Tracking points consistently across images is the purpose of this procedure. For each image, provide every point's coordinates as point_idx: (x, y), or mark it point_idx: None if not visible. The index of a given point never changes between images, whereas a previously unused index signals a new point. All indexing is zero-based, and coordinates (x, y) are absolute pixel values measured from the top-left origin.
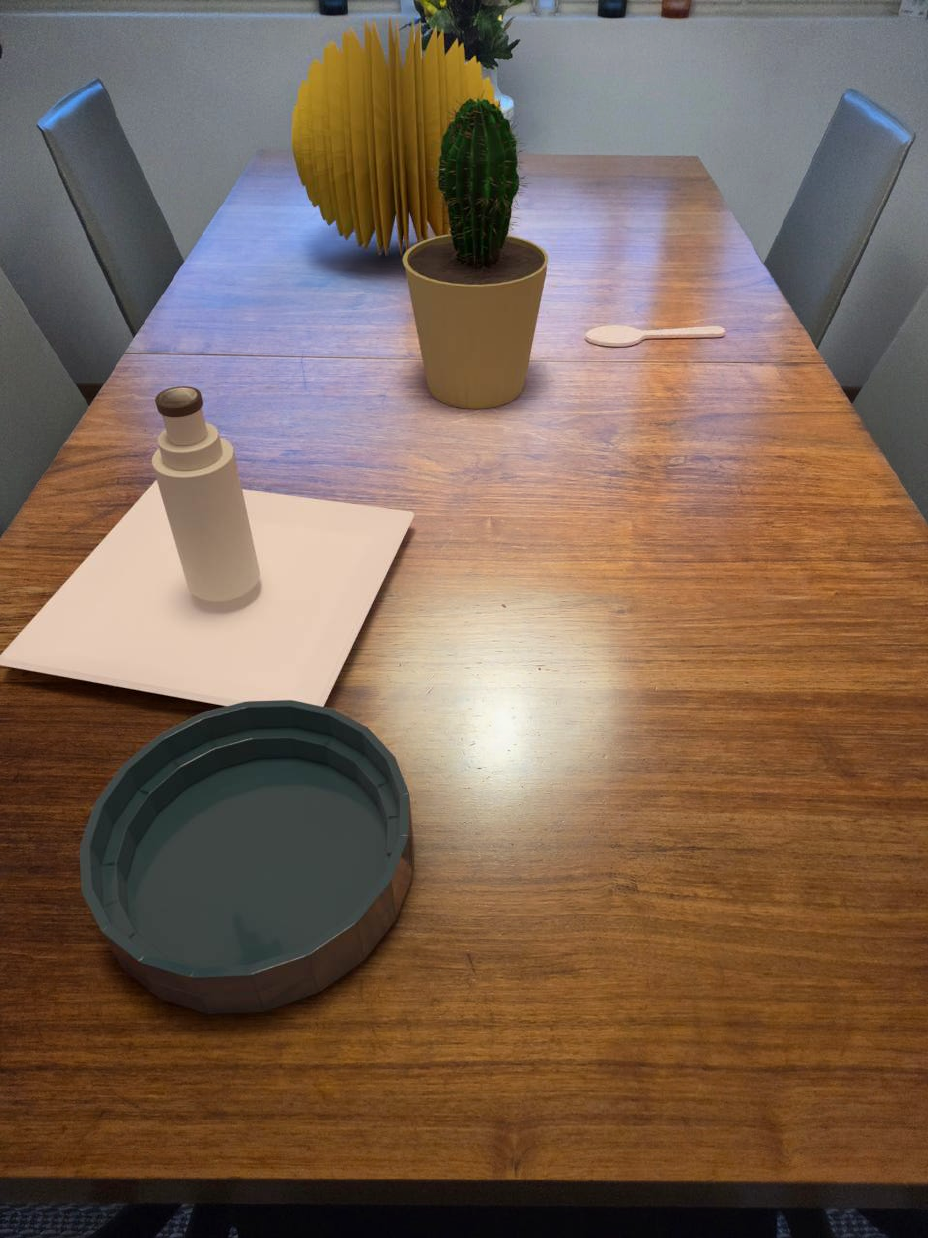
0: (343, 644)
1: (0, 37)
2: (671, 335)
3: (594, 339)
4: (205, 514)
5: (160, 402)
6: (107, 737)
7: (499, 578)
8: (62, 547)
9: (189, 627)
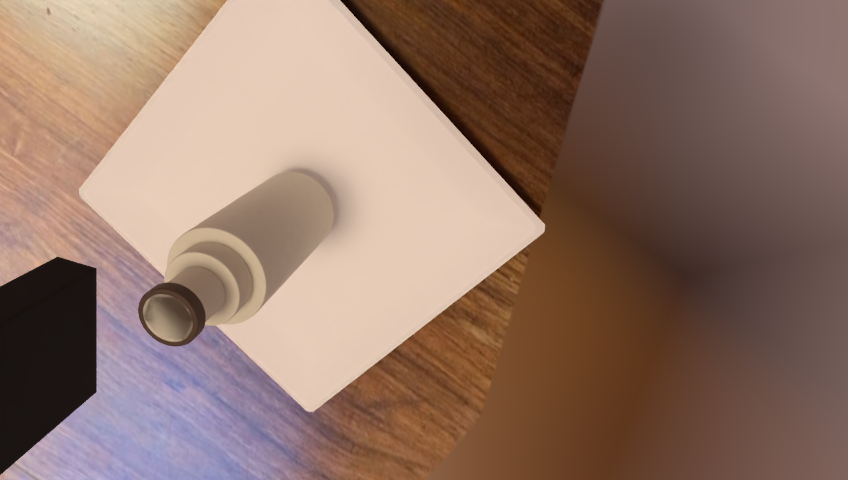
0: (214, 30)
1: None
2: None
3: None
4: (250, 210)
5: (192, 317)
6: (480, 73)
7: (37, 55)
8: (435, 380)
9: (354, 173)
